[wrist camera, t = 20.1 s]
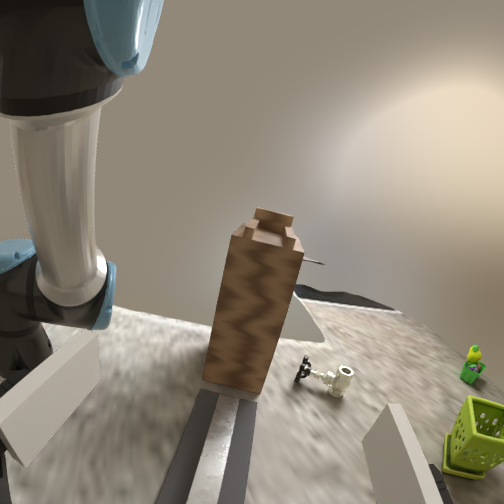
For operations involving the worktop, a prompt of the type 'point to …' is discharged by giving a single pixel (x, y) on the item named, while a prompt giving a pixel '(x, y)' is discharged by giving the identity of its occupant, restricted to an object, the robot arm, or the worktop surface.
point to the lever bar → (214, 453)
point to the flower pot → (475, 440)
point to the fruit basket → (472, 365)
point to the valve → (328, 377)
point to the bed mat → (192, 447)
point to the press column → (253, 301)
